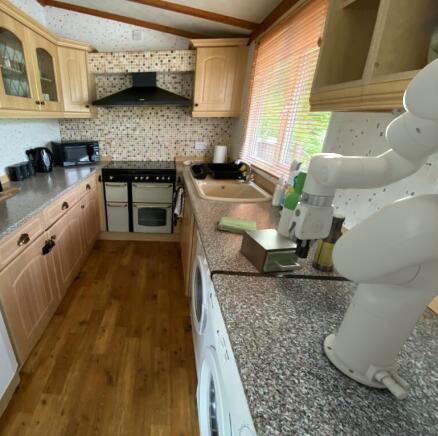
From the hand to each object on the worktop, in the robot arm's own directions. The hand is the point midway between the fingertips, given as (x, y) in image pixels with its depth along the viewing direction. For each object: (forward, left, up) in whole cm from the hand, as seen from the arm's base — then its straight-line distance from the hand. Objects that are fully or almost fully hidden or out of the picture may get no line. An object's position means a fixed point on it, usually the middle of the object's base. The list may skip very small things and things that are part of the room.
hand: (300, 256), depth 74 cm
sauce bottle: (+8, -18, -11) cm, 23 cm away
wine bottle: (+28, -18, -11) cm, 35 cm away
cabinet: (+15, 0, -11) cm, 18 cm away
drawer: (+11, 0, -10) cm, 14 cm away
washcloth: (+43, -3, -11) cm, 44 cm away
